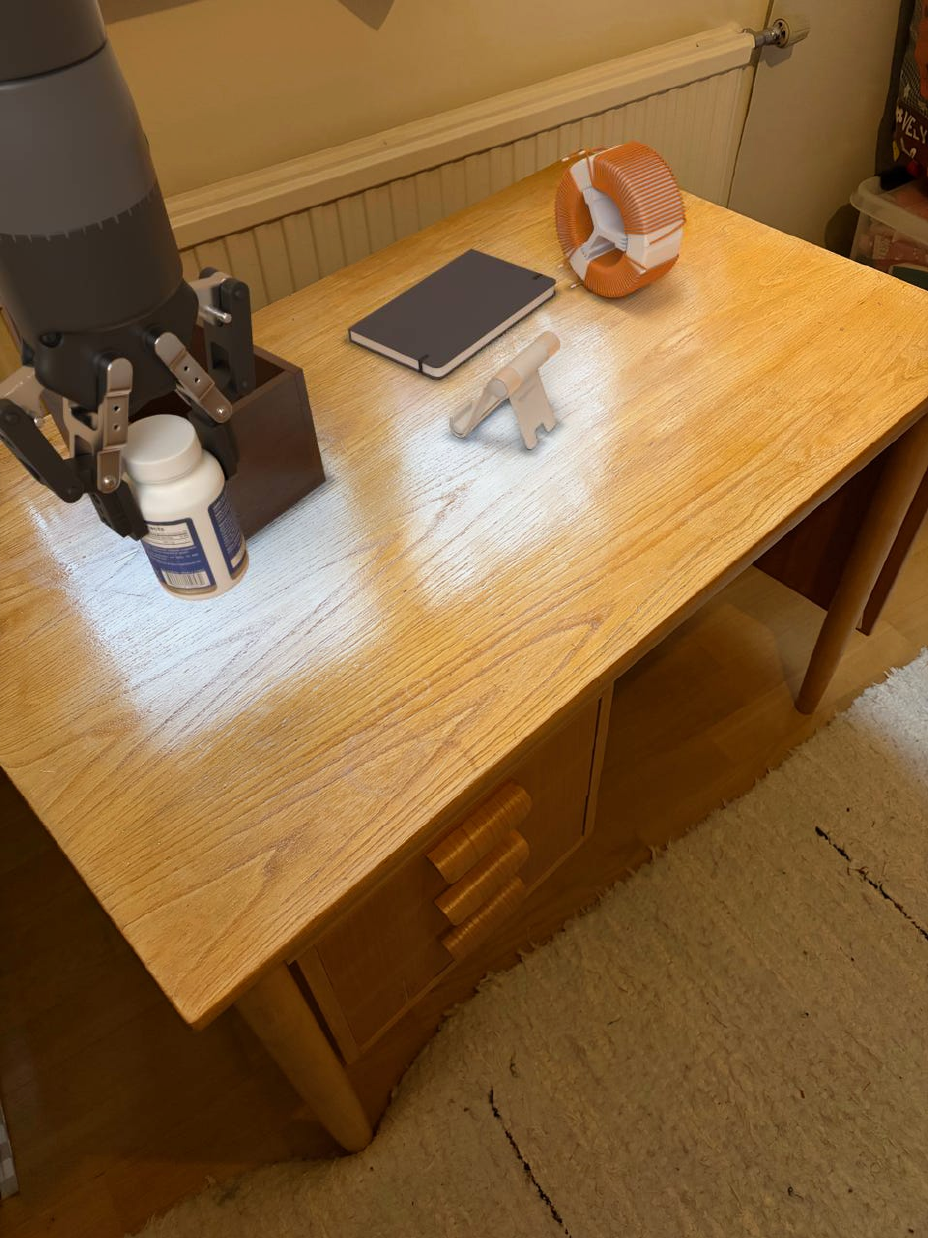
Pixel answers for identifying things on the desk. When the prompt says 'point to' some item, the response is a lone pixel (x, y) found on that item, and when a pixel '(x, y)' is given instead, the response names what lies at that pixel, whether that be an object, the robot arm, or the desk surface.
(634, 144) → the coil
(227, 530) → the pill bottle
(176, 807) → the desk surface
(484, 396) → the tablet stand
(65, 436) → the chest
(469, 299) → the notebook
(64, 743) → the desk surface
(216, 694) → the desk surface
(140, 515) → the robot arm
